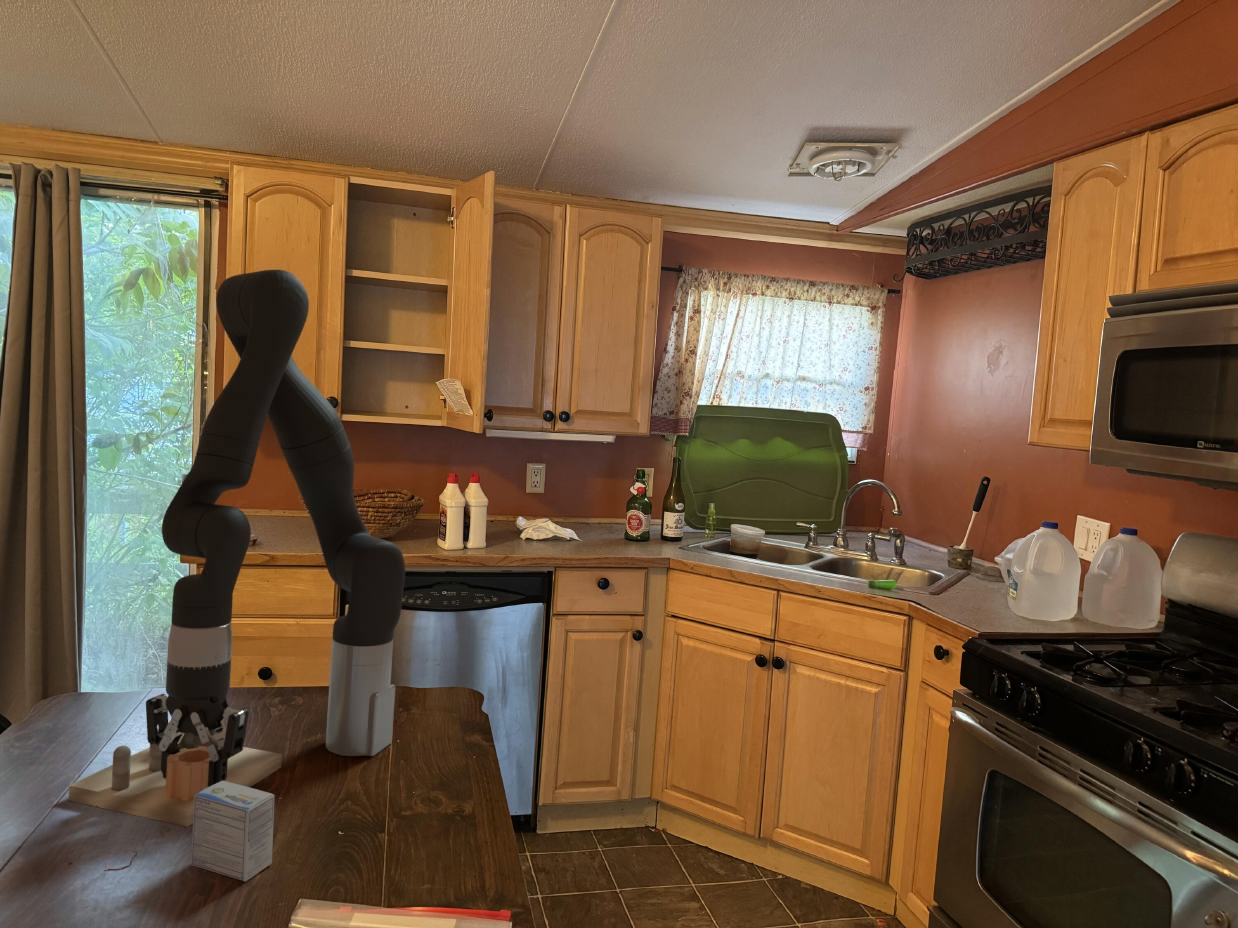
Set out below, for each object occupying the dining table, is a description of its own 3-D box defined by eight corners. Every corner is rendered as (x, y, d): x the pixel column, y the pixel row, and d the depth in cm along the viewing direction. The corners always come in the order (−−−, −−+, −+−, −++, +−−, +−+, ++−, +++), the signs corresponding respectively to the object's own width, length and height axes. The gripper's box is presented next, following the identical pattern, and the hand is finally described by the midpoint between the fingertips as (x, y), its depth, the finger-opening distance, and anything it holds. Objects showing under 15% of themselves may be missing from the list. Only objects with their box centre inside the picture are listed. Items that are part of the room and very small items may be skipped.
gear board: (281, 767, 125) (284, 707, 124) (187, 826, 106) (191, 756, 106) (175, 746, 129) (178, 688, 128) (68, 800, 110) (71, 732, 110)
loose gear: (229, 783, 114) (231, 751, 114) (196, 803, 108) (198, 769, 108) (189, 775, 116) (191, 743, 115) (154, 794, 110) (156, 760, 109)
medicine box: (272, 865, 100) (276, 792, 99) (244, 884, 95) (248, 808, 95) (219, 848, 102) (223, 778, 101) (189, 866, 98) (193, 793, 97)
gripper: (266, 656, 113) (259, 779, 114) (173, 641, 116) (167, 760, 117) (228, 672, 105) (221, 803, 107) (130, 655, 109) (124, 782, 110)
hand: (193, 780), depth 112 cm, fingers closed on loose gear, 6 cm apart
